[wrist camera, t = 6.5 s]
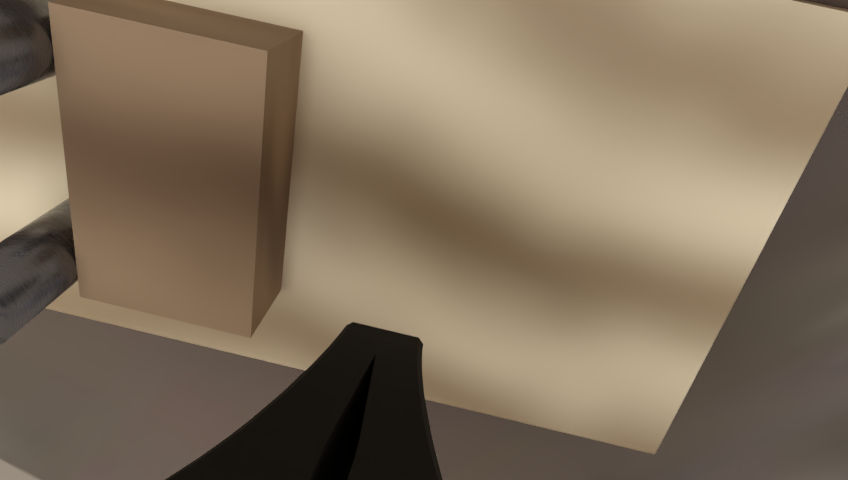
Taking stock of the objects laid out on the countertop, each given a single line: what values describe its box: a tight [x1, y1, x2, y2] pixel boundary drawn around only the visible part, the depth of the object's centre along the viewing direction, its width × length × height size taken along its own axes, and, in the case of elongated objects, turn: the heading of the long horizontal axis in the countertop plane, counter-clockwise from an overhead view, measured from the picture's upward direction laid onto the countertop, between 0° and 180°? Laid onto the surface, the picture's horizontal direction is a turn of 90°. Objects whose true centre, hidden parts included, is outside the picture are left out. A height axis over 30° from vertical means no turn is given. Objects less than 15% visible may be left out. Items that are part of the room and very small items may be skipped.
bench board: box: [0, 0, 848, 454], centre depth 18 cm, size 14×24×1 cm, turn 79°
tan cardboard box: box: [48, 0, 303, 338], centre depth 17 cm, size 8×5×2 cm, turn 169°
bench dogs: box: [0, 0, 78, 344], centre depth 16 cm, size 8×2×6 cm, turn 169°
